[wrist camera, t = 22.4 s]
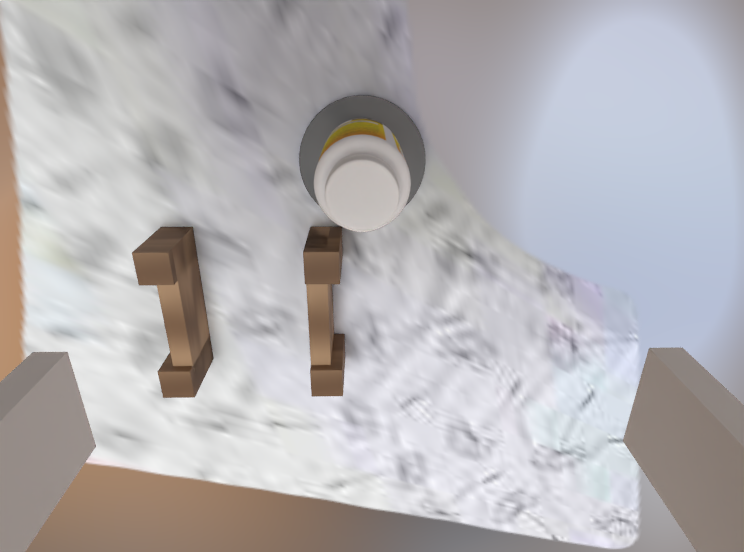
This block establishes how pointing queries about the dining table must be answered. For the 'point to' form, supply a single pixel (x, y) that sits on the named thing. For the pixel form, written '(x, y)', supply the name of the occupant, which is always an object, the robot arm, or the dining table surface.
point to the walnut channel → (189, 320)
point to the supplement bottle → (362, 176)
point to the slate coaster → (370, 110)
